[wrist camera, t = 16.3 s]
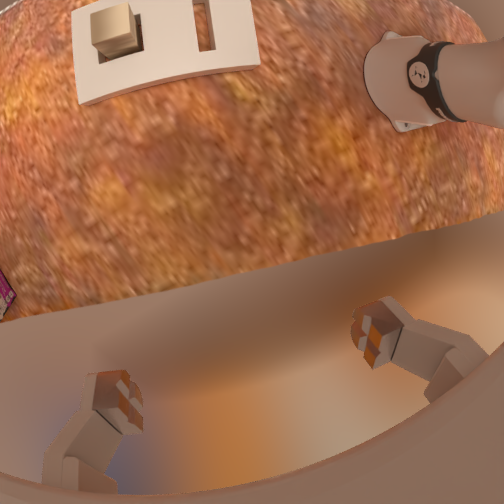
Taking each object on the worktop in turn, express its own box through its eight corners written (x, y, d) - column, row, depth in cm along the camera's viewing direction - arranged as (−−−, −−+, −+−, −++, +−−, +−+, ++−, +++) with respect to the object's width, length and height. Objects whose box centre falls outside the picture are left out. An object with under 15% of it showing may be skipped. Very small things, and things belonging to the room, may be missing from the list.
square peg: (139, 29, 24) (128, 1, 16) (142, 54, 26) (130, 32, 18) (110, 37, 24) (90, 14, 15) (113, 62, 26) (91, 44, 17)
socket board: (238, -13, 24) (245, -25, 20) (252, 69, 31) (260, 64, 27) (80, 20, 20) (71, 11, 17) (89, 105, 27) (79, 104, 24)
